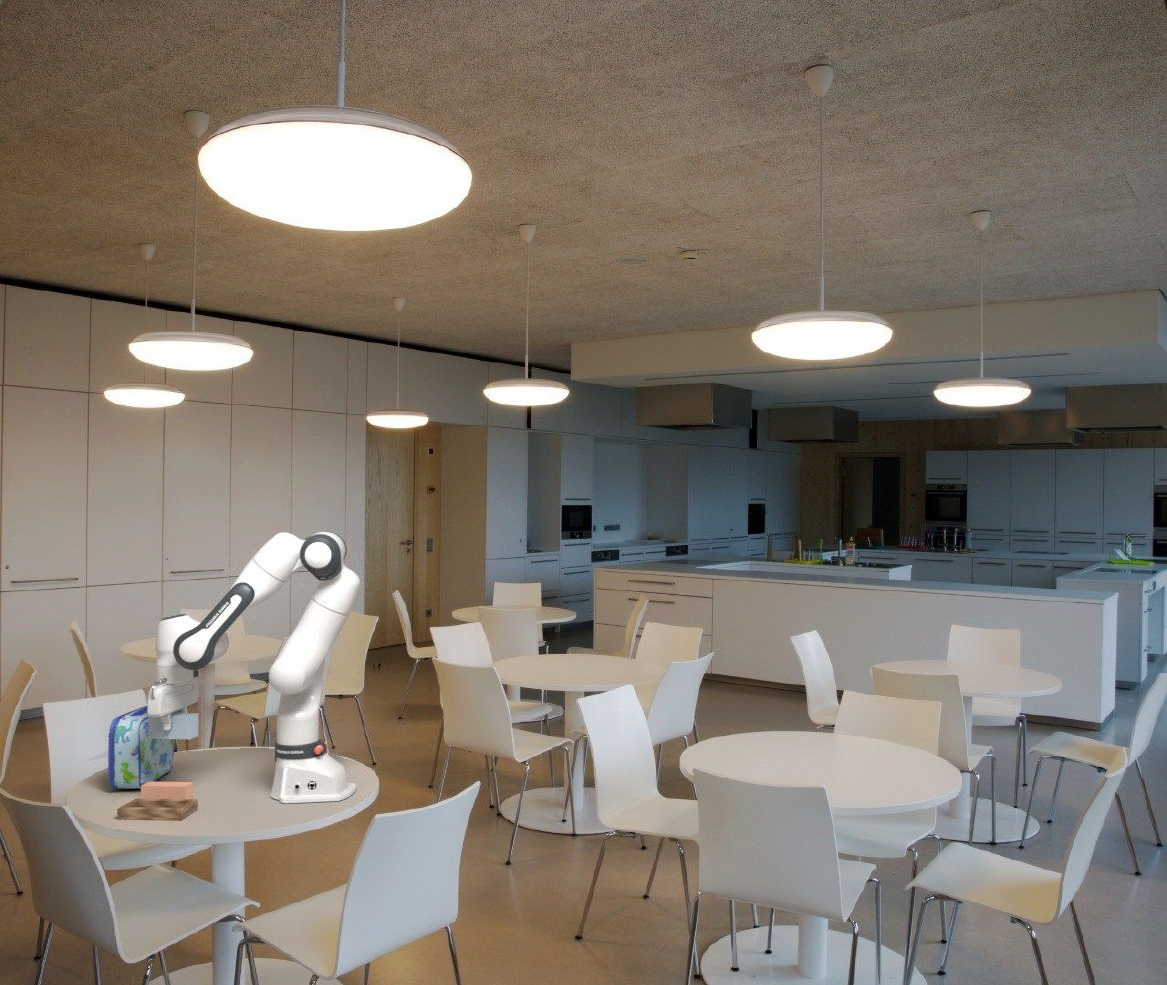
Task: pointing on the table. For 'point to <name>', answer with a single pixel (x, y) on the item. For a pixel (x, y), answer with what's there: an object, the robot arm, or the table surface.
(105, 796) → the table surface
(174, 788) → the salmon orange rectangular block
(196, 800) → the jig
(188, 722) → the pale blue upright slab
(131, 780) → the lunch box
